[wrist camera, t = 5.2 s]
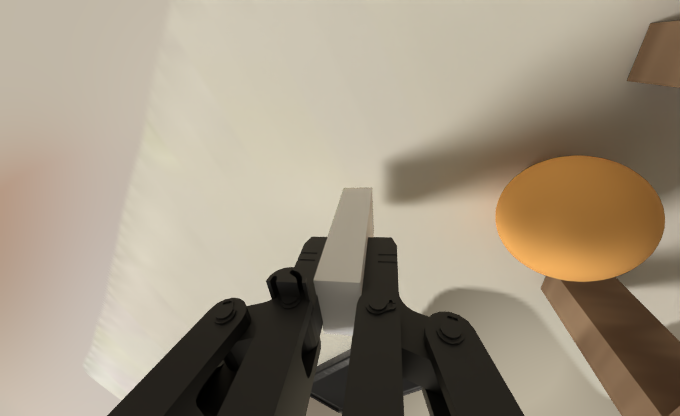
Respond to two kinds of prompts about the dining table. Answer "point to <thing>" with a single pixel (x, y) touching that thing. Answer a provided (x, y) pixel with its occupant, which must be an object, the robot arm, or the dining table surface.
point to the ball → (580, 218)
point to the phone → (340, 382)
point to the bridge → (627, 292)
